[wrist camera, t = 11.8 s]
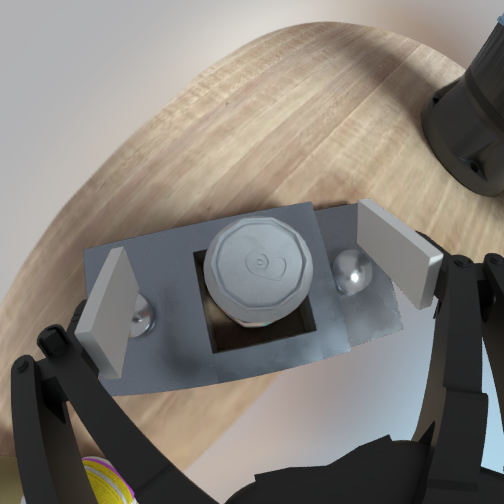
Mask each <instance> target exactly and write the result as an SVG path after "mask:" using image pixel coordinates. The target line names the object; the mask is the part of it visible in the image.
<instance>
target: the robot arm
mask: <svg viewBox="0 0 504 504" xmlns="http://www.w3.org/2000/svg"><path fill="white" fill-rule="evenodd" d="M497 20H498V23H497V25H496V26H495V28H494V30H493V31H492V33H491V35H490V36H489V38H488V39H487V41H486V42H485V44H484V45H483V47H482V48H481V50H480V52H479V53H478V54H477V56H476V57H475V59H474V60H473V61H472V63H471V65H470V66H469V67H468V69H467V70H466V72H465V73H464V74H463V75H462V76H461V77H459V78H458V79H456V80H454V81H453V82H451V83H449V84H448V85H446V86H444V87H443V88H441V89H440V90H438V91H436V92H435V93H434V94H433V95H432V96H431V97H430V98H429V100H428V101H427V103H426V104H425V106H424V108H423V110H422V125H423V129H424V132H425V135H426V137H427V140H428V142H429V144H430V146H431V147H432V149H433V151H434V152H435V154H436V155H437V157H438V158H439V160H440V161H441V162H442V164H443V165H444V166H445V167H446V168H447V170H448V171H449V172H450V173H451V174H452V175H453V176H454V177H455V178H456V179H457V180H458V181H459V182H461V183H462V184H463V185H464V186H466V187H467V188H469V189H470V190H472V191H474V192H476V193H478V194H480V195H484V196H496V195H498V194H500V193H501V192H502V191H504V13H503V15H502V16H500V17H498V19H497ZM357 243H358V244H359V245H360V246H361V248H362V249H363V250H364V251H365V252H366V253H367V254H368V255H369V256H370V257H371V258H372V259H373V260H374V261H375V262H376V263H377V264H378V265H379V267H380V268H381V269H382V270H383V271H384V272H385V273H386V274H387V275H388V276H389V277H390V279H391V280H392V281H393V282H394V283H395V284H396V285H397V286H398V287H399V288H400V290H401V291H402V292H403V293H404V294H405V295H406V296H407V298H408V299H409V300H410V301H411V302H412V303H413V304H414V306H415V307H416V308H417V309H418V310H421V309H423V308H426V307H429V306H431V303H432V300H433V296H434V295H435V296H436V297H437V298H438V303H437V307H436V310H435V314H434V317H433V318H434V319H435V318H436V321H435V330H434V340H433V347H432V354H431V361H430V368H429V374H428V379H427V385H426V390H425V394H424V399H423V404H422V408H421V412H420V416H419V421H418V424H417V428H416V431H415V433H414V435H413V437H412V439H411V441H410V440H397V441H392V440H391V438H390V436H389V435H387V436H384V437H382V438H379V439H377V440H374V441H372V442H369V443H367V444H364V445H361V446H359V447H357V448H356V449H354V450H353V451H351V452H349V453H348V454H346V455H345V456H343V457H341V458H340V459H338V460H336V461H335V462H333V463H331V464H329V465H327V466H315V467H289V468H285V469H280V470H276V471H271V472H266V473H261V474H256V475H254V476H255V480H256V481H255V482H253V483H251V484H249V485H247V486H245V487H244V488H242V489H240V490H239V491H237V492H236V493H234V494H233V495H232V496H231V497H230V498H229V499H228V500H227V501H226V502H225V504H504V474H502V473H499V472H496V471H493V470H490V469H487V468H484V467H481V461H482V456H483V449H484V443H485V434H486V426H487V415H488V395H487V394H486V393H482V338H483V341H484V344H485V348H486V351H487V355H488V358H489V362H490V366H491V370H492V374H493V378H494V383H495V387H496V392H497V397H498V402H499V407H500V413H501V420H502V426H503V432H504V258H503V257H502V256H501V255H499V254H496V253H495V254H494V253H488V254H486V255H485V258H484V261H483V263H473V261H472V260H471V259H470V258H468V257H466V256H463V255H451V254H449V253H448V252H447V251H446V250H444V249H443V248H442V247H441V246H439V245H438V244H436V243H435V242H434V241H433V240H431V239H430V238H429V237H428V236H426V235H425V234H423V233H421V232H418V231H414V230H412V229H411V228H410V227H408V226H407V225H406V224H404V223H403V222H402V221H400V220H399V219H398V218H396V217H395V216H394V215H392V214H391V213H389V212H388V211H387V210H385V209H384V208H382V207H381V206H380V205H378V204H377V203H375V202H374V201H372V200H371V199H369V198H368V199H362V200H358V224H357ZM138 291H139V285H138V283H137V280H136V278H135V275H134V273H133V270H132V268H131V265H130V262H129V260H128V257H127V254H126V251H125V249H124V246H122V247H118V248H114V249H111V251H110V253H109V255H108V257H107V259H106V261H105V263H104V265H103V267H102V269H101V271H100V274H99V276H98V278H97V280H96V282H95V285H94V287H93V289H92V291H91V294H90V296H89V298H88V299H87V300H83V301H82V302H81V303H80V304H79V305H78V306H77V308H76V310H75V312H74V315H73V317H72V319H71V323H70V324H69V326H68V329H67V331H66V332H65V330H64V329H63V327H62V326H61V325H58V324H55V325H51V326H49V327H47V328H45V329H44V330H43V331H42V332H41V333H40V334H39V336H38V338H37V345H38V346H39V348H40V349H41V351H42V352H43V353H44V355H45V356H46V357H47V358H45V359H42V360H39V361H37V362H36V361H35V360H34V359H33V357H32V356H30V355H23V356H21V357H20V358H18V359H17V360H16V361H15V362H14V364H13V366H12V369H11V407H12V422H13V433H14V442H15V450H16V457H17V463H18V469H19V475H20V480H21V484H22V489H23V493H24V498H25V502H26V504H99V503H98V501H97V499H96V496H95V494H94V491H93V489H92V486H91V484H90V481H89V478H88V476H87V473H86V470H85V467H84V465H83V462H82V459H81V456H80V452H79V449H78V446H77V443H76V439H75V436H74V432H73V429H72V425H71V421H70V417H69V413H68V409H67V405H66V401H70V403H71V405H72V406H73V408H74V410H75V411H76V413H77V415H78V416H79V418H80V420H81V421H82V423H83V424H84V426H85V427H86V429H87V431H88V432H89V434H90V435H91V437H92V438H93V440H94V441H95V442H96V444H97V445H98V447H99V448H100V450H101V451H102V452H103V454H104V455H105V456H106V458H107V459H108V461H109V462H110V463H111V465H112V466H113V467H114V468H115V470H116V471H117V472H118V473H119V475H120V476H121V477H122V478H123V480H124V481H125V482H126V483H127V485H128V486H129V487H130V488H131V489H132V491H133V492H134V498H135V499H136V501H137V502H138V503H139V504H219V503H218V502H217V501H215V500H214V499H213V498H212V497H210V496H209V495H208V494H207V493H205V492H204V491H203V490H202V489H201V488H199V487H198V486H197V485H195V483H194V482H192V481H191V480H190V479H189V478H188V477H186V475H184V474H183V473H182V472H181V471H180V470H179V469H178V468H177V467H176V466H175V465H174V464H173V463H172V462H170V461H169V460H168V459H167V458H166V457H165V456H164V455H163V454H162V453H161V452H160V451H159V450H158V449H157V448H156V447H155V446H154V445H153V444H152V443H151V441H150V440H149V439H148V438H147V437H146V436H145V435H144V434H143V433H142V432H141V431H140V430H139V429H138V427H137V426H136V425H135V424H134V423H133V422H132V421H131V420H130V418H129V417H128V416H127V415H126V414H125V413H124V411H123V410H122V409H121V408H120V407H119V405H118V404H117V403H116V402H115V400H114V399H113V398H112V397H111V395H110V394H109V393H108V392H107V390H106V389H105V388H104V386H103V385H102V384H101V383H100V381H99V380H98V374H99V371H100V373H101V374H102V376H103V377H104V378H105V380H107V379H119V378H121V374H122V369H123V363H124V357H125V352H126V347H127V341H128V336H129V332H130V327H131V322H132V317H133V313H134V308H135V304H136V300H137V296H138ZM503 471H504V466H503Z"/></svg>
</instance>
